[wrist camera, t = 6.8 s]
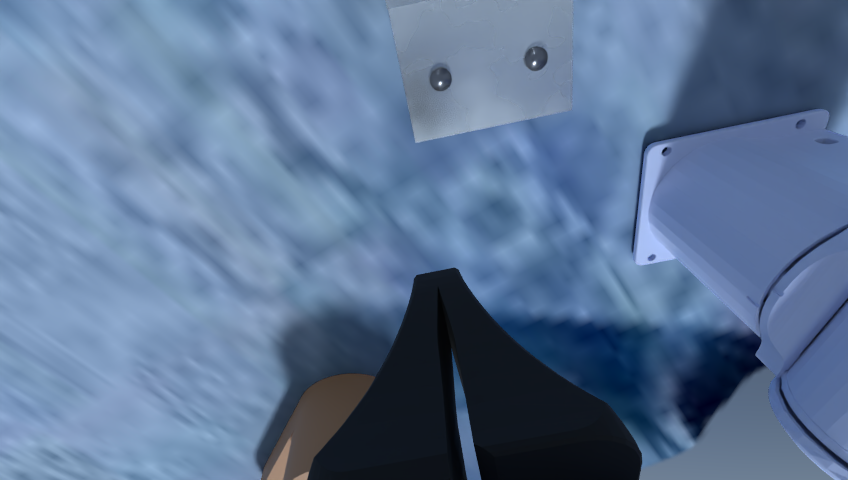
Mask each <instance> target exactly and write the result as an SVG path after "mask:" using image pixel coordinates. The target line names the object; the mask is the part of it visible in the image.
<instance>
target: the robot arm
mask: <svg viewBox="0 0 848 480" xmlns="http://www.w3.org/2000/svg"><path fill="white" fill-rule="evenodd" d="M829 115H830V114H829V112H828V111H826V110H823V109H814V110H809V111H804V112H800V113H795V114H790V115H785V116H780V117H775V118H770V119H766V120H761V121H756V122H751V123H746V124H741V125H736V126H731V127H727V128H722V129H717V130H712V131H707V132H702V133H697V134H693V135H688V136H683V137H678V138H673V139H668V140H663V141H658V142H654V143H651V144H650V145H649V146H648V147H647V148H646V149H645V152H644V160H643V169H642V178H641V187H640V197H639V206H638V215H637V224H636V233H635V242H634V251H633V260H634V262H635V263H636V264H637V265H646V264H651V263H656V262H661V261H666V260H672V259H678V260H679V261H680V262H681V263H682V264H683V265H684V266H685V267H686V268H687V269H688V270H689V271H690V272H691V273H692V274H693V275H695V276H696V277H697V278H698V279H699V280H700V281H701V282H702V283H703V284H704V285H705V286H706V287H707V288H708V289H709V290H710V291H711V292H712V293H714V294H715V295H716V296H717V297H718V298H719V299H720V300H721V301H722V302H723V303H724V304H725V305H726V306H727V307H728V308H729V309H730V310H731V311H732V312H734V313H735V314H736V315H737V316H738V317H739V318H740V319H741V320H742V321H743V322H744V323H745V324H746V325H747V326H748V327H749V328H750V329H751V330H753V331H754V332H755V333H756V334H757V335H758V336H759V337H760V338H761V339H762V342H761V345H760V348H759V349H758V351H757V352H756V356H757V357H758V358H759V359H760V360H761V361H762V362H763V363H764V364H765V365H766V366H767V367H768V368H769V369H770V370H771V371H772V372H773V373H774V374H775V375H776V376H775V377H774V379H773V380H772V381H771V383H770V386H769V389H768V393H769V394H768V395H769V401H770V404H771V407H772V409H773V411H774V413H775V415H776V417H777V419H778V421H779V422H780V424H781V425H782V426H783V428H784V429H785V431H786V432H787V433H788V434H789V436H790V437H791V438H792V440H793V441H794V442H795V443H796V445H797V446H798V447H799V448H800V449H801V450H802V451H803V452H804V454H806V456H808V457H809V458H810V459H811V460H812V461H813V462H814V463H815V464H816V465H817V466H818V467H820V468H821V469H822V470H823V471H824V472H825V473H827V474H828V475H829V476H831V477H832V478H833V479H835V480H848V137H847V136H844V135H841V134H838V133H835V132H832V131H829V130H826V129H825V128H826V126H827V123H828V120H829ZM799 120H800V121H799ZM798 121H799V123H798V124H797V122H798ZM796 124H797V125H796ZM665 147H667V150H666V151H665V152H664V153H662V150H663V149H664V148H665ZM651 254H652V255H651ZM650 255H651V256H650ZM648 256H650V257H648ZM451 348H452V351H453V355H454V358H455V362H456V365H457V369H458V372H459V376H460V379H461V383H462V386H463V390H464V393H465V397H466V403H467V408H468V414H469V420H470V425H471V431H472V437H473V442H474V447H475V452H476V457H477V461H478V466H479V470H480V475H481V480H639V476H640V471H641V465H642V453H641V451H640V450H639V448H638V445H637V443H636V442H635V440H634V438H633V437H632V435H631V434H630V432H629V431H628V429H627V428H626V427H625V425H624V424H623V422H622V421H621V420H620V418H619V417H618V416H617V415H616V413H615V412H614V411H613V410H612V408H611V407H610V406H609V405H608V404H607V403H605V402H604V401H602V400H600V399H598V398H596V397H595V396H593V395H591V394H589V393H587V392H586V391H584V390H582V389H581V388H579V387H577V386H576V385H574V384H572V383H571V382H569V381H568V380H566V379H565V378H563V377H562V376H560V375H559V374H557V373H556V372H554V371H553V370H552V369H550V368H549V367H548V366H546V365H545V364H543V363H542V362H541V361H539V360H538V359H537V358H535V357H534V356H533V355H531V354H530V353H529V352H528V351H527V350H525V349H524V348H523V347H522V346H521V345H519V344H518V343H517V342H516V341H515V340H514V339H513V338H512V337H511V336H510V335H508V334H507V333H506V332H505V331H504V330H503V329H502V328H501V327H500V326H499V325H498V323H497V322H496V321H495V320H494V319H493V318H492V317H491V316H490V315H489V314H488V312H487V311H486V310H485V309H484V308H483V306H482V305H481V304H480V303H479V301H478V300H477V299H476V298H475V296H474V295H473V294H472V292H471V291H470V289H469V288H468V286H467V285H466V283H465V282H464V280H463V278H462V276H461V274H460V272H459V270H458V269H456V268H450V269H445V270H440V271H435V272H430V273H425V274H420V275H417V276H416V277H415V278H414V283H413V289H412V293H411V297H410V300H409V304H408V307H407V310H406V313H405V316H404V319H403V322H402V324H401V327H400V329H399V332H398V334H397V336H396V339H395V341H394V343H393V346H392V348H391V350H390V352H389V354H388V356H387V358H386V360H385V362H384V363H383V365H382V367H381V369H380V371H379V372H378V374H377V376H376V377H375V379H374V381H373V382H372V384H371V386H370V387H369V389H368V390H367V392H366V393H365V395H364V396H363V398H362V399H361V401H360V402H359V403H358V405H357V406H356V407H355V409H354V410H353V411H352V413H351V414H350V415H349V417H348V418H347V419H346V421H345V422H344V423H343V425H342V426H341V427H340V428H339V429H338V431H337V432H336V433H335V434H334V435H333V436H332V437H331V439H330V440H329V441H328V442H327V443H326V444H325V445H324V447H323V448H322V449H321V450H320V451H319V452H318V453H317V454H316V456H315V457H314V459H313V462H312V465H311V468H310V471H309V474H308V478H307V480H467V477H466V471H465V465H464V459H463V453H462V447H461V441H460V435H459V430H458V423H457V414H456V403H455V390H454V377H453V364H452V351H451Z"/></svg>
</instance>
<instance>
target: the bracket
mask: <svg viewBox="0 0 848 480" xmlns="http://www.w3.org/2000/svg"><path fill="white" fill-rule="evenodd" d="M374 379H375V377H374V376H370V375H366V374H340V375H335V376H331V377H328V378H325V379H322V380H320V381H318V382H316V383H315V384H313V385H312V386H310V387H309V388H308V389H307V390H306V391H305V392H304V394H303V395H302V397H301V399H300V401H299V402H298V404H297V406H296V408H295V410H294V412H293V414H292V416H291V417H290V419H289V421H288V423H287V425H286V427H285V429H284V431H283V432H282V434H281V436H280V438H279V440H278V442H277V444H276V446H275V447H274V449H273V451H272V453H271V455H270V457H269V459H268V460H267V462H266V464H265V466H264V470H263V474H262V478H261V480H307V478H308V474H309V471H310V468H311V465H312V462H313V459H314V457H315V456H316V454H317V453H318V452H319V451H320V450H321V449H322V448H323V447H324V445H325V444H326V443H327V442H328V441H329V440H330V439H331V437H332V436H333V435H334V434H335V433H336V432H337V431H338V429H339V428H340V427H341V426H342V425H343V423H344V422H345V421H346V419H347V418H348V417H349V415H350V414H351V413H352V411H353V410H354V409H355V407H356V406H357V405H358V403H359V402H360V401H361V399H362V398H363V396H364V395H365V393H366V392H367V390H368V389H369V387H370V386H371V384H372V382H373V381H374Z"/></svg>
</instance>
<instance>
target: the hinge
mask: <svg viewBox="0 0 848 480" xmlns="http://www.w3.org/2000/svg"><path fill="white" fill-rule="evenodd" d="M385 1H386V6H387V10H388V11H389V16H390V21H391V25H392V30H393V35H394V40H395V45H396V50H397V55H398V59H399V64H400V69H401V74H402V79H403V84H404V89H405V93H406V98H407V103H408V108H409V113H410V118H411V122H412V127H413V132H414V137H415V142H416V143H417V142H422V141H427V140H432V139H436V138H441V137H446V136H451V135H455V134H460V133H465V132H470V131H474V130H479V129H484V128H489V127H494V126H498V125H503V124H508V123H513V122H517V121H522V120H527V119H532V118H536V117H541V116H546V115H551V114H556V113H560V112H565V111H570V110H572V75H573V0H385Z"/></svg>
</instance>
